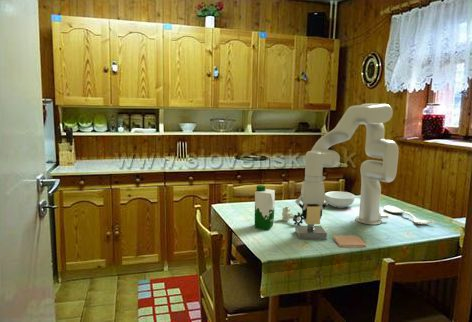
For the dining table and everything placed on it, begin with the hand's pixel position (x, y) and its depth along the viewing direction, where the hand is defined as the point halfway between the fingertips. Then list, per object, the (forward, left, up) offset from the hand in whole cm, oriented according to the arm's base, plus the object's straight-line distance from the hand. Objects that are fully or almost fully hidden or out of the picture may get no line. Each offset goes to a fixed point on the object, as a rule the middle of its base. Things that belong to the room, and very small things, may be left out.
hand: (311, 217), depth 172 cm
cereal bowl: (-28, -50, -9) cm, 58 cm away
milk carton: (+20, -11, -9) cm, 25 cm away
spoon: (-57, -29, -9) cm, 65 cm away
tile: (-15, +8, -8) cm, 19 cm away
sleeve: (0, 0, -2) cm, 2 cm away
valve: (+6, -19, -9) cm, 22 cm away
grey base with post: (0, 0, -8) cm, 8 cm away
